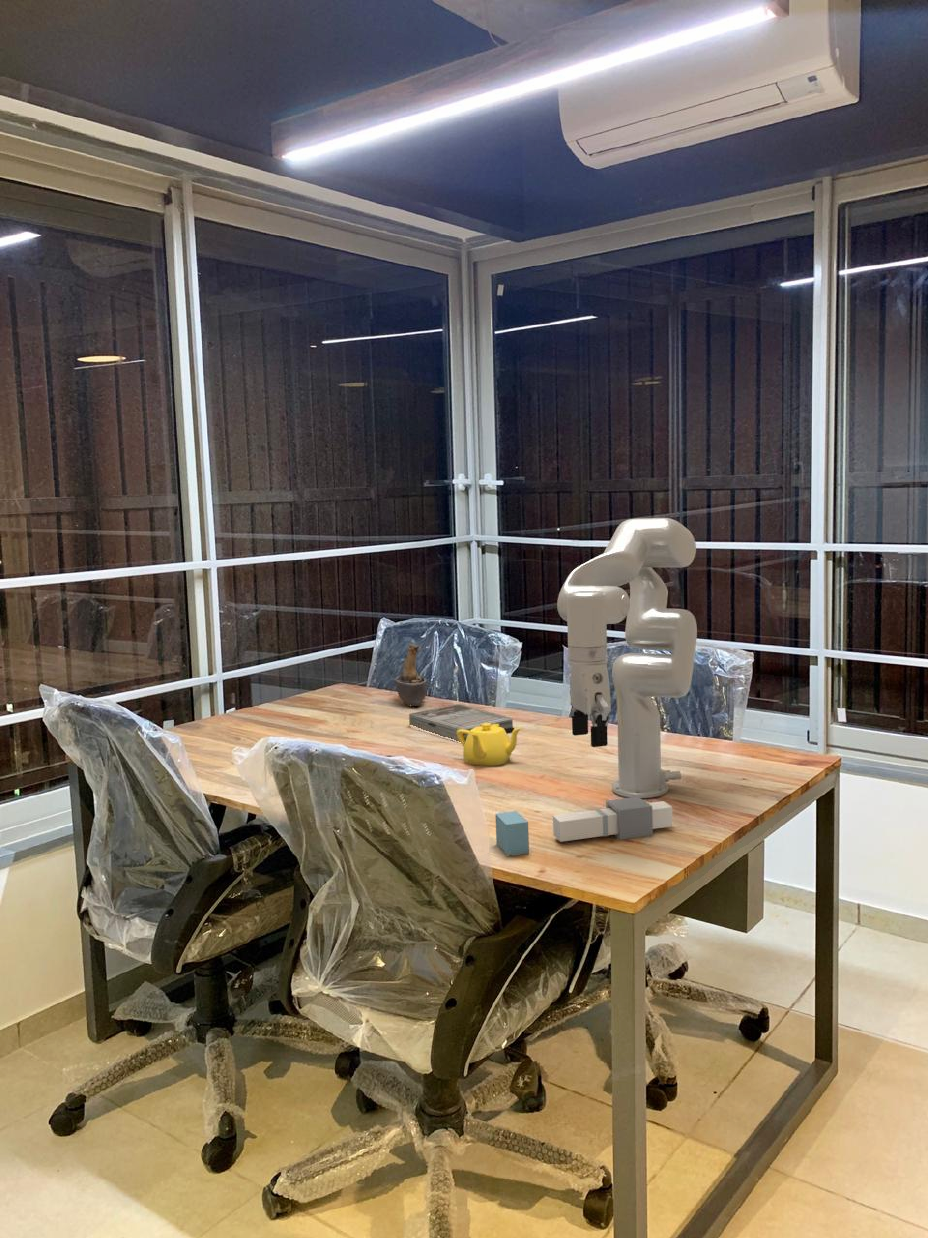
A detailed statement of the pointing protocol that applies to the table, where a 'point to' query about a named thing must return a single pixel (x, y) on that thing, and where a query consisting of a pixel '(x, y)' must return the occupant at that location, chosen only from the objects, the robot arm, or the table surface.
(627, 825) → the sleeve
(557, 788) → the table surface
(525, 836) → the socket
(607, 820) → the bar
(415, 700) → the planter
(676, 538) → the robot arm
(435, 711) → the hard drive
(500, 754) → the teapot
